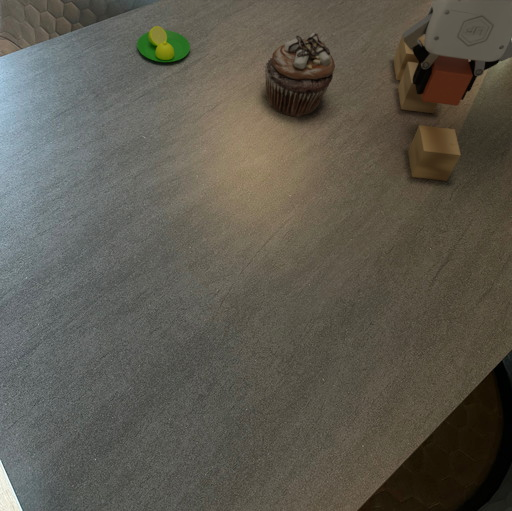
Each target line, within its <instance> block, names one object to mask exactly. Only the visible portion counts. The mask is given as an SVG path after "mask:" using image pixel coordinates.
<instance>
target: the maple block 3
mask: <svg viewBox="0 0 512 511" xmlns="http://www.w3.org/2000/svg"><path fill="white" fill-rule="evenodd" d="M407 155H408V162H409V168H410V174H411V178H417V179H427V180H435V181H443V182H444V181H445V182H447V181H448V180H449V178H450V176H451V174H452V172H453V170H454V168H455V167H456V165H457V163H458V162H459V159H460V157H461V151H460V145H459V142H458V137H457V132H456V129H455V128H447V127H438V126H431V125H430V126H429V125H422V124H421V125H420V124H419V125H418V126H417V130H416V132H415V134H414V136H413V138H412V141H411V143H410V145H409V147H408V150H407Z"/></svg>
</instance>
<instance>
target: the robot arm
mask: <svg viewBox="0 0 512 511" xmlns="http://www.w3.org/2000/svg"><path fill="white" fill-rule="evenodd" d="M402 35H403V40H404V42H405V43H406V45H407V46H408V47H409V48H410V49H411V50H412V51H413V53H414V55H415V56H416V58H417V60H418V61H419V63H418V65H417V68H416V70H415V73H414V75H413V84H415V86H416V91H417V94H423V92H424V89H425V87H426V85H427V82H428V80H429V78H430V75H431V73H432V69H431V65H432V64H433V62H434V61H435V60H436V59H437V57H438V56H439V55H440V56H446V57H453V58H461V59H468V60H469V64H470V68H471V71H472V75H473V76H472V78H471V80H470V82H469V84H468V86H467V88H466V90H465V93H464V95H463V97H462V99H461V101H463V100H464V99H465V97H466V95H467V93H468V92H470V91H471V90H472V88H473V86H474V83H475V81H476V80H477V78H478V77H481V76H482V75H483V74H484V72H485V71H486V70H489V69H491V68H493V67H495V66H496V65H498V64H499V62H503V61H504V62H505V61H506V60H508V59H511V58H512V0H432V1H431V4H430V6H429V8H428V10H427V12H426V14H425V16H424V18H422V19H420V20H419V21H417V22H416V23H414V24H413V25H412V26H410V27H409V28H408V29H405V31H403V32H402ZM421 36H424V37H425V40H424V46H423V44H422V43H421V41H420V40H418V38H419V37H421Z"/></svg>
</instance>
